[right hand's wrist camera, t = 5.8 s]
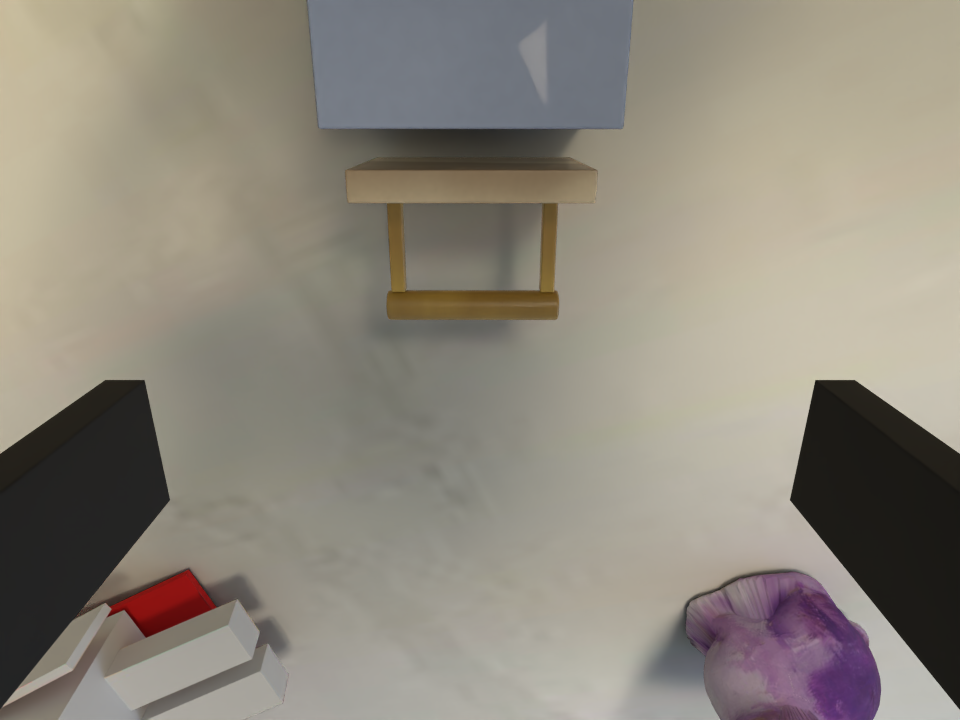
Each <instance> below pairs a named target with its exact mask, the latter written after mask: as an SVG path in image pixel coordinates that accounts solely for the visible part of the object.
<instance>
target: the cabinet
mask: <svg viewBox="0 0 960 720" xmlns="http://www.w3.org/2000/svg"><path fill="white" fill-rule="evenodd" d="M307 7H308V18H309V30H310V41H311V52H312V63H313V75H314V86H315V97H316V109H317V120H318V127H319V128H320V129H622V128H623V126H624V113H625V101H626V88H627V75H628V62H629V50H630V37H631V24H632V11H633V0H307Z"/></svg>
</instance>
